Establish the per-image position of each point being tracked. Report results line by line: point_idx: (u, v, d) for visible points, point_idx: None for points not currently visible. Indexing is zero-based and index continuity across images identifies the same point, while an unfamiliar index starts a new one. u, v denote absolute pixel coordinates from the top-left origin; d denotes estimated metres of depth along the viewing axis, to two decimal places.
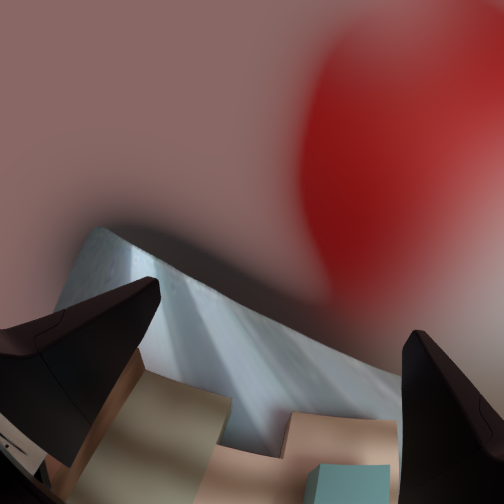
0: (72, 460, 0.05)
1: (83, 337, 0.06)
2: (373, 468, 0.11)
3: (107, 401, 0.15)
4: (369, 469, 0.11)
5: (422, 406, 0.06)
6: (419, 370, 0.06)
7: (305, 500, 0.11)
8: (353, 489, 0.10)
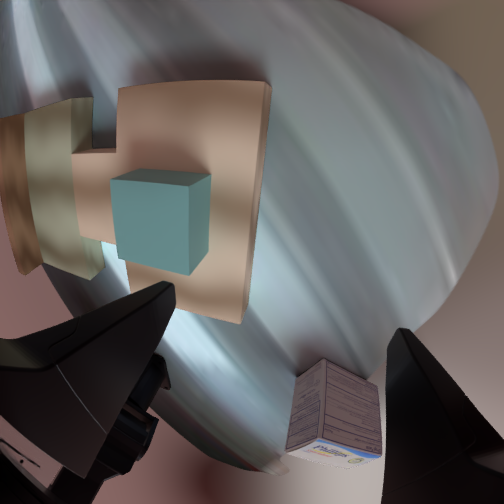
0: (87, 470, 0.05)
1: (101, 346, 0.06)
2: (165, 189, 0.13)
3: (8, 173, 0.16)
4: (160, 190, 0.13)
5: (405, 406, 0.06)
6: (402, 369, 0.06)
7: None
8: (145, 216, 0.14)
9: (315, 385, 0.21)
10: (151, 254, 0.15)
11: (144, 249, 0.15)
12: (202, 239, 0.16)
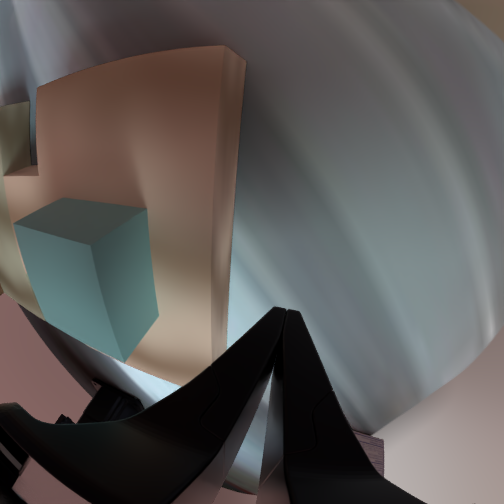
0: None
1: (251, 399, 0.05)
2: (65, 246, 0.07)
3: None
4: (59, 246, 0.07)
5: (274, 392, 0.06)
6: (278, 351, 0.07)
7: None
8: (54, 280, 0.08)
9: None
10: (75, 328, 0.09)
11: (66, 319, 0.09)
12: (142, 307, 0.10)
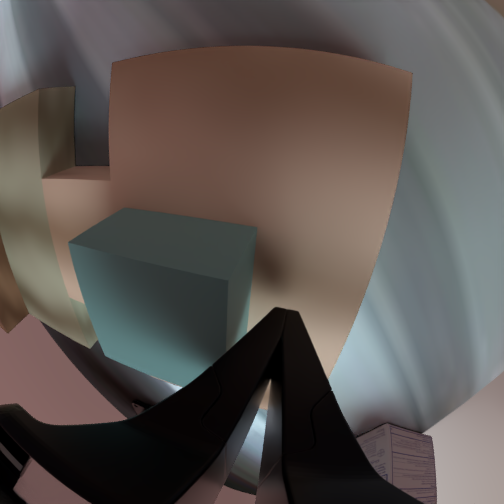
0: None
1: (253, 399, 0.05)
2: (174, 278, 0.06)
3: None
4: (163, 278, 0.06)
5: (273, 392, 0.06)
6: (277, 351, 0.07)
7: None
8: (139, 316, 0.07)
9: (379, 455, 0.14)
10: (158, 366, 0.08)
11: (145, 357, 0.08)
12: (241, 336, 0.09)
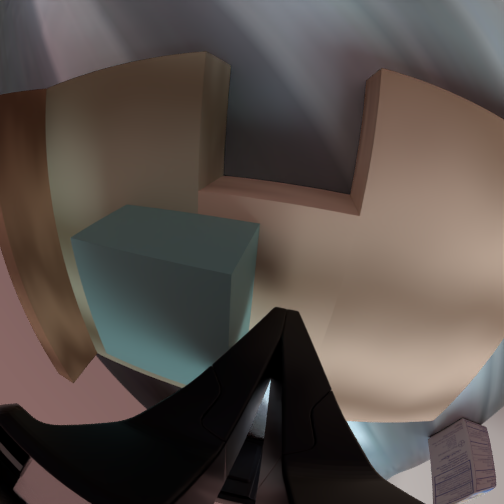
0: None
1: (253, 399, 0.05)
2: (177, 273, 0.06)
3: (15, 217, 0.08)
4: (166, 273, 0.06)
5: (273, 392, 0.06)
6: (277, 351, 0.07)
7: None
8: (141, 312, 0.07)
9: (460, 445, 0.13)
10: (160, 363, 0.08)
11: (147, 355, 0.08)
12: (243, 332, 0.09)
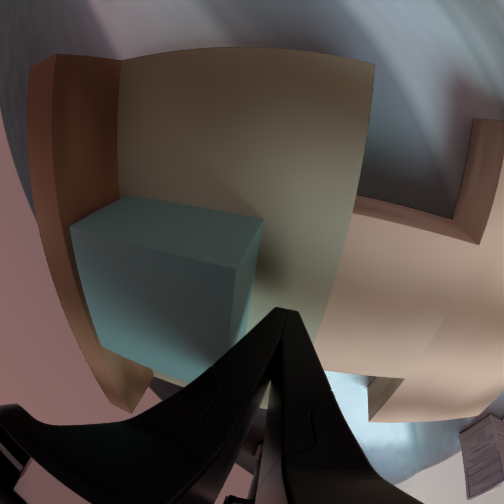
0: None
1: (253, 399, 0.05)
2: (180, 266, 0.06)
3: None
4: (168, 265, 0.06)
5: (273, 392, 0.06)
6: (277, 351, 0.07)
7: None
8: (140, 305, 0.07)
9: (489, 439, 0.12)
10: (156, 357, 0.08)
11: (144, 348, 0.08)
12: (241, 329, 0.09)
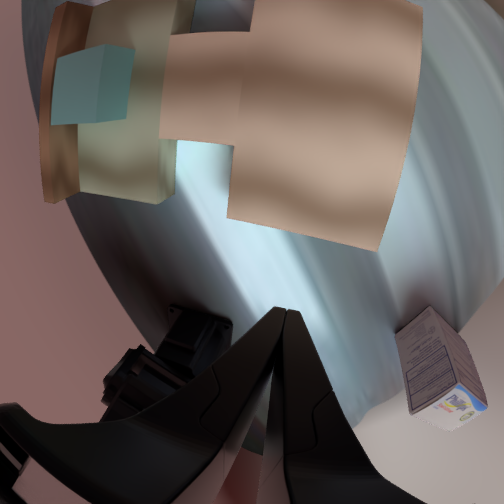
0: None
1: (251, 399, 0.05)
2: (90, 51, 0.10)
3: None
4: (87, 53, 0.10)
5: (274, 392, 0.06)
6: (278, 351, 0.07)
7: None
8: (73, 78, 0.11)
9: (430, 332, 0.17)
10: (72, 111, 0.12)
11: (69, 108, 0.12)
12: (117, 100, 0.13)
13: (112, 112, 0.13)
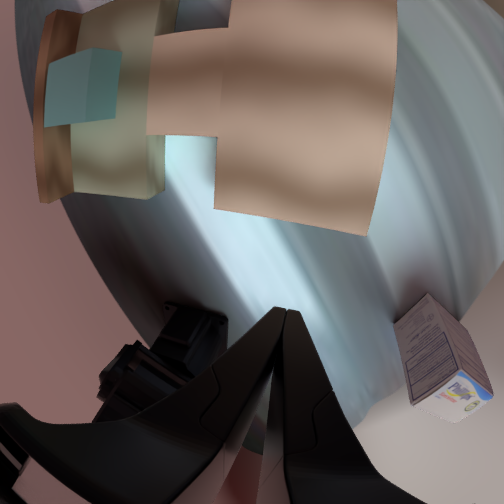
0: None
1: (251, 399, 0.05)
2: (79, 55, 0.10)
3: None
4: (76, 57, 0.11)
5: (274, 392, 0.06)
6: (278, 351, 0.07)
7: None
8: (64, 81, 0.11)
9: (429, 320, 0.16)
10: (64, 112, 0.12)
11: (60, 110, 0.12)
12: (106, 100, 0.14)
13: (101, 112, 0.14)
